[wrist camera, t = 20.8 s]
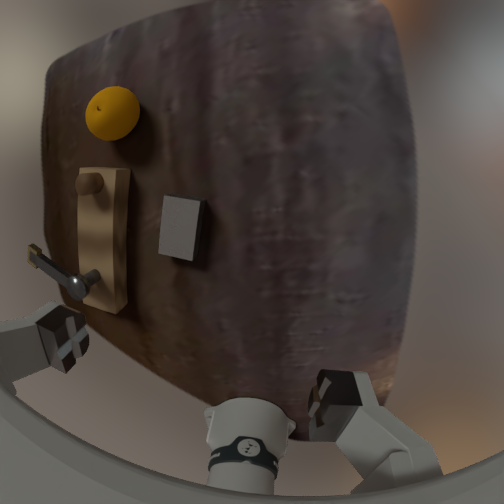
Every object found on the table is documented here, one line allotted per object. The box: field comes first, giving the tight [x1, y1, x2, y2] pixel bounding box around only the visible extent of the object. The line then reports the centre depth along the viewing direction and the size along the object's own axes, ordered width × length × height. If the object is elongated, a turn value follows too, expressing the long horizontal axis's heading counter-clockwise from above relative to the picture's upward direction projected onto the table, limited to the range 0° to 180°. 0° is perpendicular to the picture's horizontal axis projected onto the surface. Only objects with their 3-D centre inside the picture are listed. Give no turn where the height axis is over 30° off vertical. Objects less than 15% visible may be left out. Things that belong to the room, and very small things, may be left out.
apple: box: [86, 86, 140, 140], centre depth 30 cm, size 8×8×8 cm
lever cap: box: [159, 194, 206, 261], centre depth 36 cm, size 8×5×3 cm, turn 169°
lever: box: [28, 244, 90, 301], centre depth 32 cm, size 13×4×2 cm, turn 66°
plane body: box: [75, 167, 131, 314], centre depth 35 cm, size 22×7×8 cm, turn 171°
